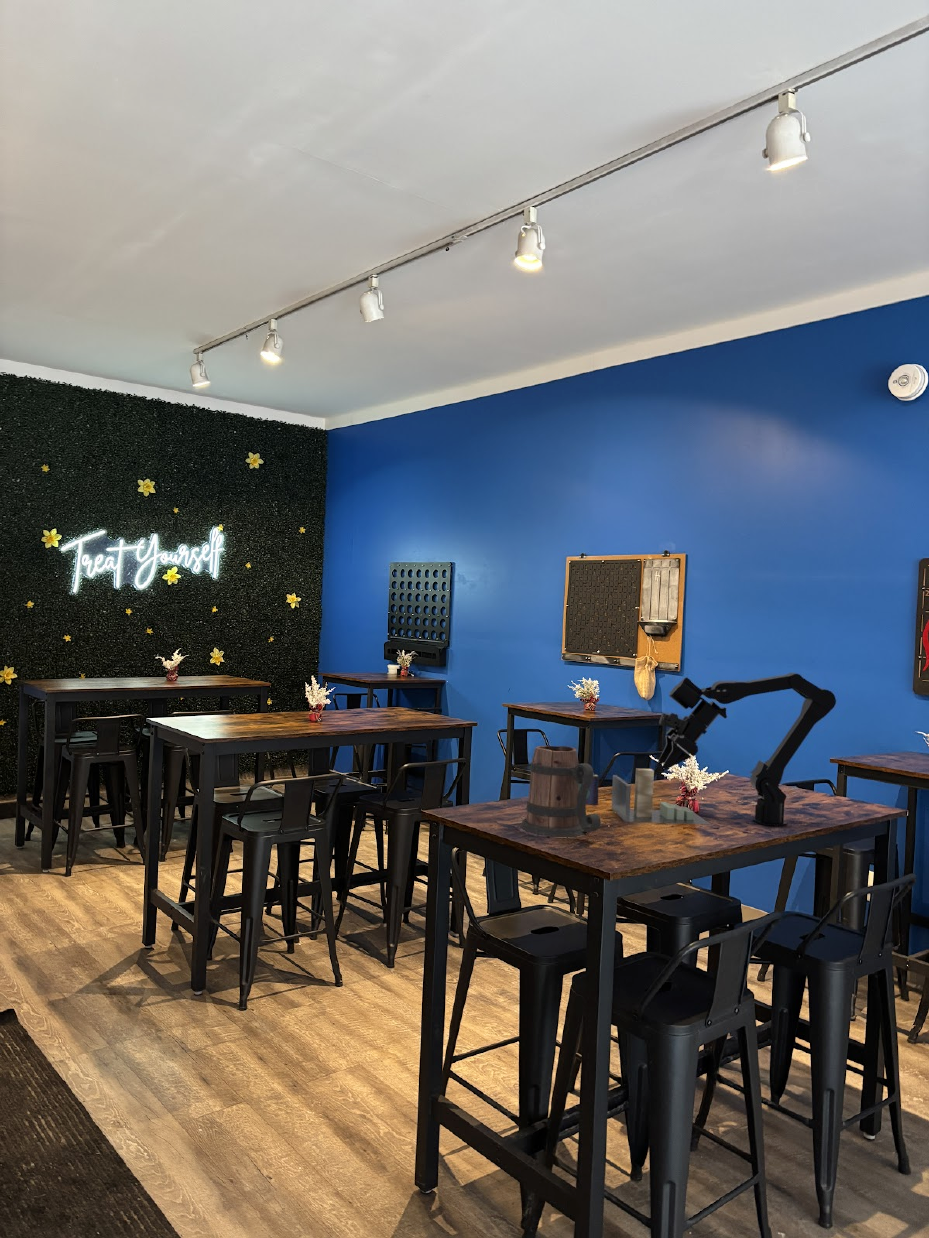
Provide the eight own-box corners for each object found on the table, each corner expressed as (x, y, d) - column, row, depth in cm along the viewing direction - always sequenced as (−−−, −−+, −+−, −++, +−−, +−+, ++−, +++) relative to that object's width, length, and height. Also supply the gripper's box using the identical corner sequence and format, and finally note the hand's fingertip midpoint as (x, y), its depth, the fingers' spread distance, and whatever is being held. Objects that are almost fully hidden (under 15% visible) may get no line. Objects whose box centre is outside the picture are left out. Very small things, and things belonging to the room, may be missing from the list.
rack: (691, 814, 251) (693, 777, 251) (711, 828, 235) (712, 788, 235) (611, 812, 249) (612, 775, 249) (625, 825, 233) (626, 785, 233)
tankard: (503, 826, 226) (506, 744, 226) (554, 820, 236) (558, 741, 236) (569, 848, 207) (573, 758, 207) (622, 840, 217) (626, 754, 217)
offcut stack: (685, 814, 246) (686, 802, 246) (693, 820, 239) (694, 808, 239) (659, 813, 245) (660, 802, 245) (667, 819, 238) (667, 807, 238)
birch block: (648, 814, 243) (650, 768, 243) (651, 817, 240) (653, 770, 240) (633, 814, 243) (635, 768, 243) (636, 816, 240) (638, 770, 240)
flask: (563, 805, 257) (565, 766, 257) (567, 803, 259) (569, 764, 259) (596, 809, 253) (598, 769, 253) (599, 807, 255) (601, 768, 255)
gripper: (670, 698, 255) (634, 741, 256) (680, 704, 237) (641, 751, 238) (702, 724, 255) (666, 767, 255) (714, 732, 236) (675, 779, 237)
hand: (661, 765), depth 246 cm, fingers open, 9 cm apart
